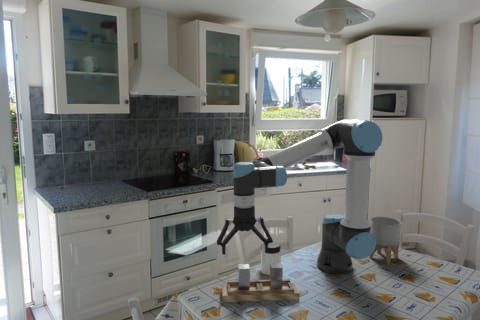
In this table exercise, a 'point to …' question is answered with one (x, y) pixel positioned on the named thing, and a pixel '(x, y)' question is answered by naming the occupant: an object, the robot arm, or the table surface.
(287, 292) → the light wooden long frame
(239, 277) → the grey rectangular prism
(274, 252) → the jar
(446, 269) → the table surface
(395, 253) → the planter
